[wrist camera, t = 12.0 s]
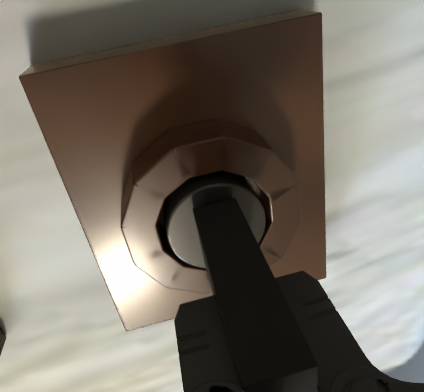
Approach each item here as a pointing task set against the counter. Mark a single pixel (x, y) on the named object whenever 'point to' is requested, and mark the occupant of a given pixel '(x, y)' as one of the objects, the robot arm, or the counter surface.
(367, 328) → the counter surface
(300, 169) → the button block
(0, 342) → the switch bracket
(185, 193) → the button
